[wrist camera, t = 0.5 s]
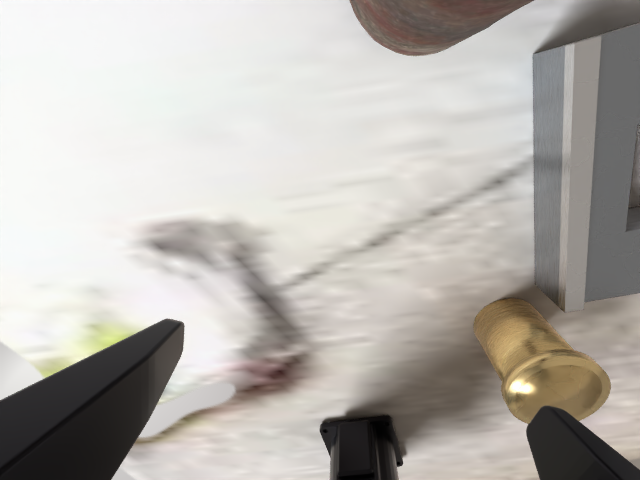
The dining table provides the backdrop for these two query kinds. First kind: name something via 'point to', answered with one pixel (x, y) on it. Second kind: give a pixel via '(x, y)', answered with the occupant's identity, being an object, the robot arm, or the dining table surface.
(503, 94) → the dining table surface
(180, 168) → the dining table surface
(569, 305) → the jig
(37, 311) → the dining table surface
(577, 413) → the gold flared round piece
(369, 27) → the candle
